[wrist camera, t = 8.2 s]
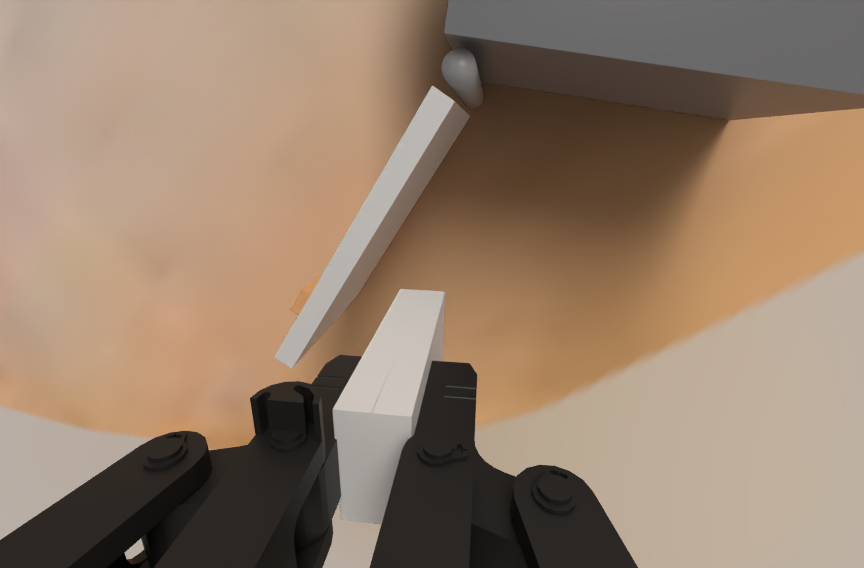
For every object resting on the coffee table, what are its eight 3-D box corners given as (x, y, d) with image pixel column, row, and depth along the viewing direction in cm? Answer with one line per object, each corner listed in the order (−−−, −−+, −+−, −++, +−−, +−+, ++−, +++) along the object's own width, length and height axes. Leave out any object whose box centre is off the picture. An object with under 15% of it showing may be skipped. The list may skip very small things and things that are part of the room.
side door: (455, 69, 20) (427, 21, 12) (488, 93, 20) (483, 61, 12) (332, 276, 24) (251, 343, 16) (360, 294, 24) (294, 370, 16)
